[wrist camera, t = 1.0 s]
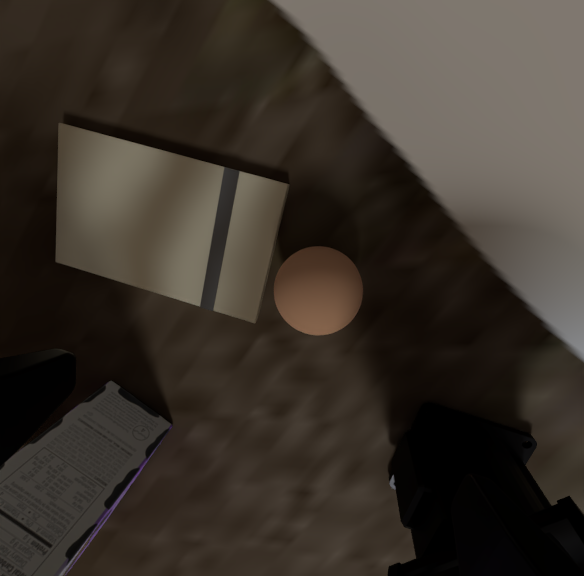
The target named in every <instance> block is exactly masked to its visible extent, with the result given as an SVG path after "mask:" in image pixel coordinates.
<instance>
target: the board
mask: <svg viewBox="0 0 584 576" xmlns="http://www.w3.org/2000/svg"><path fill="white" fill-rule="evenodd" d="M289 186H290V184H286V183H282V182H279V181H275V180H271V179H268V178H264V177H260V176H256V175H253V174H249V173H245V172H242V171H238V170H234V169H230V168H227V167H223V166H219V165H215V164H212V163H208V162H204V161H201V160H197V159H193V158H189V157H186V156H182V155H178V154H175V153H171V152H167V151H163V150H160V149H156V148H152V147H149V146H145V145H141V144H137V143H134V142H130V141H126V140H123V139H119V138H115V137H111V136H108V135H104V134H100V133H96V132H93V131H89V130H85V129H82V128H78V127H74V126H70V125H67V124H63V123H59V130H58V175H57V220H56V262H58V263H61V264H64V265H67V266H71V267H74V268H77V269H80V270H84V271H87V272H90V273H93V274H97V275H100V276H103V277H106V278H110V279H113V280H116V281H119V282H123V283H126V284H129V285H132V286H136V287H139V288H142V289H145V290H149V291H152V292H155V293H158V294H162V295H165V296H168V297H171V298H175V299H178V300H181V301H184V302H188V303H191V304H194V305H197V306H200V307H201V308H204V309H208V310H211V311H213V310H214V311H217V312H220V313H223V314H227V315H230V316H233V317H236V318H240V319H243V320H246V321H249V322H253V323H255V322H256V321H257V320H258V315H259V311H260V307H261V303H262V299H263V295H264V290H265V286H266V282H267V278H268V274H269V269H270V265H271V261H272V257H273V253H274V249H275V244H276V240H277V236H278V232H279V228H280V223H281V219H282V215H283V211H284V207H285V203H286V198H287V194H288V190H289Z"/></svg>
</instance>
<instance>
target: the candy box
mask: <svg viewBox="0 0 584 576" xmlns="http://www.w3.org/2000/svg"><path fill="white" fill-rule="evenodd" d="M171 428H172V424H171V423H169V422H168V421H167V420H165V419H164V418H163V417H161V416H160V415H159V414H157V413H156V412H154V411H153V410H152V409H150V408H149V407H147V406H146V405H145V404H143V403H142V402H141V401H139V400H138V399H136V398H135V397H134V396H133V395H131V394H130V393H129V392H127V391H126V390H124V389H123V388H122V387H120V386H119V385H117V384H116V383H114V382H113V381H109V382H107V383H106V384H105V385H103V386H102V387H101V388H99V389H98V390H97V391H96V392H94V393H93V394H92V395H90V396H89V397H88V398H86V399H85V400H84V401H83V402H82V403H80V404H79V405H77V406H76V407H75V408H74V409H72V410H71V411H70V412H68V413H67V414H66V415H65V416H63V417H62V418H61V419H59V420H58V421H57V422H56V423H54V424H53V425H52V426H51V427H49V428H48V429H47V430H45V431H44V432H43V433H41V434H40V435H39V436H38V437H36V438H35V439H34V440H33V441H31V442H30V443H28V444H27V445H26V446H24V447H23V448H22V449H21V450H19V451H18V452H17V453H16V454H14V455H13V456H12V457H10V458H9V459H8V460H7V461H6V462H5V463H4V464H3V465H2V466H1V467H0V576H65V575H66V574H67V573H68V571H69V570H70V569H71V567H72V566H73V565H74V563H75V562H76V561H77V559H78V558H79V557H80V555H81V554H82V553H83V551H84V550H85V549H86V547H87V546H88V545H89V543H90V542H91V541H92V539H93V538H94V537H95V535H96V534H97V532H98V531H99V530H100V528H101V527H102V526H103V524H104V523H105V522H106V520H107V519H108V518H109V516H110V515H111V513H112V511H113V510H114V509H115V507H116V506H117V504H118V503H119V502H120V500H121V499H122V497H123V496H124V494H125V493H126V492H127V490H128V489H129V487H130V486H131V484H132V483H133V482H134V480H135V479H136V477H137V476H138V474H139V473H140V472H141V470H142V468H143V467H144V466H145V464H146V463H147V462H148V460H149V459H150V457H151V456H152V454H153V453H154V452H155V450H156V449H157V448H158V446H159V445H160V443H161V442H162V440H163V439H164V437H165V436H166V435H167V433H168V432H169V431H170V429H171Z"/></svg>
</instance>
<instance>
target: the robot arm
mask: <svg viewBox="0 0 584 576" xmlns="http://www.w3.org/2000/svg"><path fill="white" fill-rule="evenodd" d="M75 384H76V357H75V355H74V354H73V353H71V352H68V351H65V350H62V349H50V350H44V351H39V352H33V353H28V354H22V355H17V356H11V357H6V358H0V467H1V466H2V465H3V464H4V463H5V462H6V461H7V460H8V459H9V458H10V457H11V456H12V455H14V454H15V453H16V452H17V451H18V450H19V449H20V448H21V447H22V446H23V444H24V443H25V442H26V441H27V440H28V439H29V438H30V437H31V436H32V435H33V434H34V433H35V432H36V431H37V430H38V429H39V427H40V426H41V425H42V424H43V423H44V422H45V421H46V420H47V419H48V418H49V417H50V416H51V414H52V413H53V412H54V411H55V410H56V409H57V408H58V407H59V406H60V405H61V404H62V403H63V402H64V400H65V399H66V398H67V397H68V396H69V395H70V394H71V392H72V391H73V389H74V387H75ZM430 410H431V411H433V412H432V413H430V414H428V413H427V411H430ZM525 441H528V442H527V443H523V442H525ZM536 446H537V442H536V441H535V439H534V438H533V437H532V436H531V434H529V433H526V432H523V431H520V430H517V429H513V428H510V427H507V426H504V425H501V424H497V423H494V422H491V421H488V420H485V419H482V418H478V417H475V416H472V415H469V414H466V413H462V412H459V411H456V410H453V409H450V408H447V407H443V406H440V405H437V404H434V403H425V404H423V405H422V406H421V408H420V410H419V412H418V414H417V416H416V419H415V421H414V423H413V425H412V427H411V430H410V431H407V432H406V433H405V434H404V436H403V438H402V441H401V443H400V445H399V447H398V450H397V452H396V454H395V456H394V458H393V461H392V471H391V473H390V476H389V483H390V486H391V487H392V488H393V489H395V490H396V494H397V500H398V506H399V512H400V519H401V522H402V524H403V526H404V527H405V528H408V529H411V533H412V539H413V544H414V549H415V555H416V559H414V560H411V561H409V562H406V563H404V564H401V563H396V564H394V565H391V566H389V569H388V576H584V514H583V513H582V511H581V510H580V509H579V507H578V506H577V505H576V504H575V502H574V501H573V500H572V499H571V497H570V496H568V497H565V498H563V499H560V500H557V503H558V504H556V505H553V506H551V504H550V503H549V501H548V500H547V498H546V497H545V495H544V494H543V492H542V490H541V489H540V487H539V486H538V484H537V483H536V481H535V480H534V478H533V477H532V475H531V474H530V472H529V470H528V469H527V467H526V466H525V465H526V463H527V461H528V460H529V458H530V457H531V455H532V453H533V452H534V450H535V449H536Z"/></svg>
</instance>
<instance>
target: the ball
mask: <svg viewBox="0 0 584 576" xmlns="http://www.w3.org/2000/svg"><path fill="white" fill-rule="evenodd" d="M362 297H363V284H362V279H361V276H360V274H359V271H358V269H357V268H356V266H355V265H354V263H353V262H352V261H351V260H350V259H349V258H348V257H347V256H346V255H344V254H343V253H341V252H339V251H337V250H335V249H332V248H329V247H323V246H313V247H308V248H305V249H302V250H300V251H297V252H296V253H294V254H293V255H291V256H290V257H289V258H288V259H287V260H286V261H285V262H284V263H283V264H282V266H281V267H280V269H279V271H278V273H277V276H276V279H275V283H274V298H275V303H276V306H277V308H278V310H279V312H280V314H281V316H282V317H283V318H284V320H285V321H286V322H287V323H288V324H289V325H291V326H292V327H293V328H295V329H297V330H299V331H301V332H303V333H306V334H310V335H327V334H331V333H334V332H336V331H338V330H340V329H342V328H343V327H345V326H346V325H348V324H349V323H350V322H351V321H352V319H353V318H354V317H355V315H356V314H357V312H358V310H359V308H360V306H361V302H362Z"/></svg>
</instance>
